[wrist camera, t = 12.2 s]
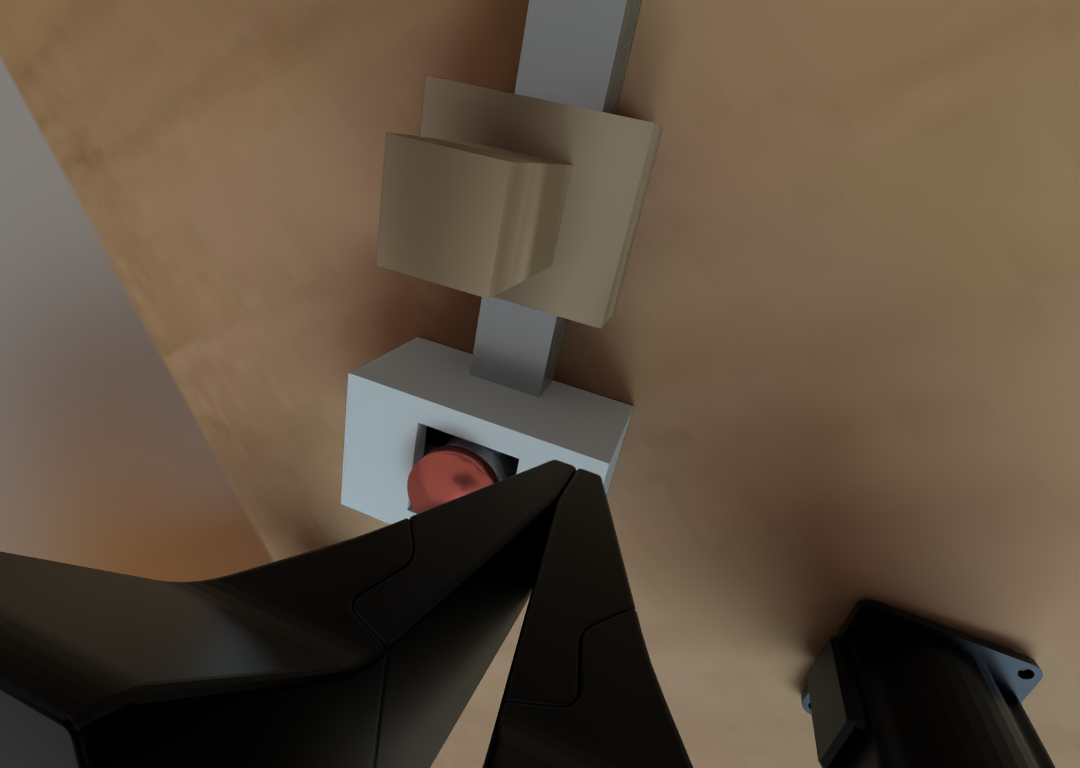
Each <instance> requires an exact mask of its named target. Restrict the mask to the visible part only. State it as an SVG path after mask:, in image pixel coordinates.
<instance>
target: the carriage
mask: <svg viewBox="0 0 1080 768" xmlns="http://www.w3.org/2000/svg"><path fill="white" fill-rule="evenodd" d="M662 130H663V128H662V127H661V126H659V125H657V124H656V123H653V122H648V121H644V120H639V119H634V118H629V117H624V116H620V115H615V114H610V113H605V112H600V111H595V110H591V109H586V108H581V107H576V106H571V105H567V104H562V103H557V102H552V101H547V100H542V99H538V98H533V97H528V96H523V95H518V94H514V93H509V92H504V91H499V90H494V89H489V88H485V87H480V86H475V85H470V84H465V83H461V82H456V81H451V80H446V79H441V78H436V77H432V76H427V75H426V79H425V89H424V100H423V110H422V120H421V130H420V136H411V135H403V134H394V133H386V141H385V154H384V168H383V181H382V195H381V208H380V221H379V235H378V248H377V262H376V266H379V267H382V268H386V269H389V270H392V271H396V272H399V273H403V274H406V275H409V276H413V277H416V278H419V279H423V280H426V281H430V282H433V283H436V284H440V285H443V286H446V287H450V288H453V289H457V290H460V291H463V292H467V293H470V294H473V295H477V296H480V297H483V298H487V299H489V298H491V297H495V298H498V299H501V300H505V301H508V302H511V303H515V304H518V305H522V306H525V307H528V308H532V309H535V310H539V311H542V312H545V313H549V314H552V315H555V316H559V317H562V318H566V319H569V320H572V321H576V322H579V323H583V324H586V325H589V326H593V327H596V328H600V329H601V328H602V327H603V326H604V325H605V324H606V323H607V321H608V320H609V319H610V318H611V317H612V315H613V314H614V310H615V306H616V303H617V299H618V295H619V291H620V288H621V284H622V280H623V276H624V273H625V269H626V265H627V261H628V258H629V254H630V250H631V246H632V243H633V239H634V235H635V231H636V228H637V224H638V220H639V216H640V213H641V209H642V205H643V201H644V198H645V194H646V190H647V186H648V183H649V179H650V175H651V171H652V168H653V164H654V160H655V156H656V153H657V149H658V145H659V141H660V138H661V134H662Z"/></svg>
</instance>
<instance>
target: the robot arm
mask: <svg viewBox="0 0 1080 768" xmlns="http://www.w3.org/2000/svg"><path fill="white" fill-rule="evenodd" d="M530 595H531V596H530ZM529 596H530V599H529V603H528V606H527V610H526V614H525V617H524V621H523V625H522V628H521V632H520V636H519V639H518V643H517V646H516V650H515V654H514V657H513V661H512V665H511V668H510V672H509V675H508V679H507V683H506V686H505V690H504V694H503V697H502V701H501V705H500V709H499V712H498V715H497V719H496V723H495V726H494V730H493V733H492V737H491V740H490V744H489V748H488V751H487V754H486V758H485V761H484V764H483V768H693V766H692V764H691V761H690V759H689V756H688V754H687V752H686V749H685V747H684V744H683V742H682V739H681V737H680V735H679V732H678V730H677V727H676V725H675V722H674V720H673V718H672V715H671V713H670V710H669V708H668V705H667V703H666V701H665V698H664V695H663V693H662V690H661V688H660V685H659V682H658V680H657V677H656V674H655V672H654V669H653V667H652V664H651V661H650V658H649V654H648V651H647V648H646V644H645V641H644V638H643V635H642V631H641V627H640V623H639V619H638V616H637V612H636V611H635V605H634V601H633V597H632V593H631V590H630V586H629V582H628V578H627V574H626V570H625V566H624V563H623V559H622V555H621V551H620V547H619V543H618V539H617V536H616V532H615V528H614V524H613V520H612V516H611V512H610V509H609V505H608V501H607V497H606V493H605V489H604V485H603V482H602V478H601V476H600V475H598V474H595V473H592V472H590V471H587V470H584V469H578V470H576V468H575V467H574V466H573V465H570V464H567V463H564V462H561V461H559V460H551V461H548V462H546V463H543V464H541V465H538V466H536V467H533V468H531V469H528V470H526V471H523V472H521V473H518V474H516V475H513V476H511V477H508V478H506V479H503V480H501V481H498V482H496V483H493V484H491V485H488V486H486V487H483V488H481V489H478V490H476V491H473V492H471V493H468V494H466V495H463V496H461V497H458V498H456V499H453V500H451V501H448V502H446V503H443V504H441V505H438V506H436V507H433V508H431V509H428V510H426V511H423V512H421V513H418V514H416V515H413V516H411V517H410V519H408V518H405V519H403V520H400V521H398V522H395V523H393V524H390V525H388V526H385V527H383V528H380V529H377V530H374V531H372V532H369V533H366V534H364V535H361V536H358V537H355V538H352V539H349V540H346V541H343V542H339V543H336V544H333V545H330V546H327V547H324V548H320V549H317V550H313V551H310V552H307V553H303V554H300V555H296V556H293V557H290V558H286V559H283V560H279V561H276V562H272V563H269V564H266V565H262V566H259V567H256V568H252V569H248V570H245V571H242V572H238V573H235V574H231V575H227V576H223V577H220V578H215V579H210V580H203V581H193V582H167V581H160V580H153V579H147V578H142V577H136V576H131V575H126V574H120V573H115V572H109V571H104V570H98V569H92V568H87V567H81V566H76V565H70V564H66V563H60V562H54V561H49V560H44V559H38V558H33V557H27V556H21V555H16V554H11V553H5V552H0V768H430V767H431V765H432V763H433V762H434V760H435V758H436V757H437V755H438V753H439V751H440V750H441V748H442V746H443V745H444V743H445V741H446V739H447V738H448V736H449V734H450V733H451V731H452V729H453V727H454V726H455V724H456V722H457V721H458V719H459V717H460V715H461V714H462V712H463V710H464V709H465V707H466V705H467V703H468V702H469V700H470V698H471V697H472V695H473V693H474V691H475V690H476V688H477V686H478V685H479V683H480V681H481V679H482V678H483V676H484V674H485V673H486V671H487V669H488V667H489V666H490V664H491V662H492V661H493V659H494V657H495V655H496V654H497V652H498V650H499V649H500V647H501V645H502V643H503V642H504V640H505V638H506V637H507V635H508V633H509V631H510V630H511V628H512V626H513V625H514V623H515V621H516V619H517V618H518V616H519V614H520V613H521V611H522V609H523V607H524V606H525V604H526V602H527V600H528V598H529ZM868 611H872V612H875V613H873V614H870V615H869V614H865V612H868ZM1021 669H1027V670H1024V671H1019V670H1021ZM1042 676H1043V674H1042V671H1041V669H1040V668H1039V666H1038V664H1037V663H1036V662H1035V660H1034V659H1032V658H1030V657H1028V656H1026V655H1023V654H1020V653H1017V652H1015V651H1012V650H1009V649H1006V648H1004V647H1001V646H998V645H995V644H993V643H990V642H987V641H984V640H982V639H979V638H976V637H973V636H971V635H968V634H965V633H962V632H960V631H957V630H954V629H951V628H949V627H946V626H943V625H941V624H938V623H935V622H932V621H930V620H927V619H924V618H921V617H919V616H916V615H913V614H910V613H908V612H905V611H902V610H899V609H897V608H894V607H891V606H888V605H886V604H883V603H880V602H877V601H875V600H870V599H863V600H861V601H858V602H857V603H856V604H855V606H854V608H853V609H852V611H851V613H850V614H849V616H848V618H847V619H846V621H845V623H844V624H843V626H842V628H841V629H840V631H839V633H838V634H837V636H834V637H832V638H830V639H829V640H828V642H827V643H826V645H825V647H824V648H823V650H822V652H821V653H820V655H819V657H818V658H817V660H816V662H815V663H814V665H813V667H812V669H811V670H810V672H809V674H808V675H807V686H806V688H805V690H804V691H803V693H802V695H801V700H802V706H803V709H804V710H805V711H806V712H808V713H810V714H812V720H813V727H814V734H815V740H816V747H817V754H818V761H819V763H820V765H821V767H822V768H1055V766H1054V764H1053V762H1052V760H1051V759H1050V757H1049V755H1048V753H1047V751H1046V749H1045V747H1044V746H1043V744H1042V742H1041V740H1040V738H1039V736H1038V735H1037V733H1036V731H1035V729H1034V727H1033V725H1032V723H1031V722H1030V720H1029V718H1028V716H1027V714H1026V712H1025V711H1024V709H1023V707H1022V705H1021V702H1022V701H1023V700H1024V699H1025V698H1026V696H1027V695H1028V694H1029V693H1030V692H1031V691H1032V689H1033V688H1034V687H1035V686H1036V685H1037V684H1038V682H1039V681H1040V680H1041V678H1042Z"/></svg>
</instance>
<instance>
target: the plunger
mask: <svg viewBox="0 0 1080 768" xmlns="http://www.w3.org/2000/svg"><path fill="white" fill-rule="evenodd" d="M518 464H519V459H518V458H515V457H513V456H510V455H507V454H504V453H501V452H499V451H496V450H493V449H490V448H488V447H485V446H482V445H479V444H476V443H474V442H471V441H468V440H465V439H463V438H460V437H457V436H453V437H452V438H451V439H450V440H449V441H448V442H447V443H446V444H445V445H444V446H441V447H437V448H435V449H433V450H431V451H430V452H429V453H428V454H426V455H425V456H424V457H423V458H422V459H421V460H420V461H419V462H418V463H417V464H416V465H415V466H414V467H413V468H412V470H411V472H410V474H409V477H408V481H407V492H408V497H409V500H410V503H411V505H412V507H413V509H414V511H415V512H416V514H418V513H421V512H423V511H426V510H428V509H431V508H433V507H436V506H438V505H441V504H443V503H446V502H448V501H451V500H453V499H456V498H458V497H461V496H463V495H466V494H468V493H471V492H473V491H476V490H478V489H481V488H483V487H486V486H488V485H491V484H493V483H496V482H498V481H501V480H503V479H506V478H508V477H511V476H513V475H516V473H517V468H518Z"/></svg>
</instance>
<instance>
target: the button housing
mask: <svg viewBox="0 0 1080 768" xmlns="http://www.w3.org/2000/svg"><path fill="white" fill-rule="evenodd" d="M472 356H473V354H470V353H467V352H464V351H461V350H458V349H454V348H451V347H448V346H445V345H442V344H439V343H436V342H433V341H430V340H426V339H423V338H420V337H417V338H415V339H413V340H411V341H409V342H407V343H405V344H403V345H401V346H399V347H397V348H395V349H394V350H392V351H390V352H388V353H386V354H384V355H382V356H380V357H378V358H376V359H374V360H372V361H370V362H369V363H367V364H365V365H363V366H361V367H359V368H357V369H355V370H353V371H351V372H349V373H348V389H347V407H346V424H345V441H344V458H343V476H342V493H341V504H342V505H345V506H347V507H350V508H352V509H355V510H357V511H360V512H362V513H364V514H367V515H369V516H372V517H374V518H377V519H379V520H382V521H384V522H386V523H389V524H393V523H395V522H398V521H400V520H403V519H405V518H408V519H410V517H411V516H413V515H416V512H415V511H414V509H413V507H412V505H411V503H410V500H409V497H408V492H407V481H408V477H409V474H410V472H411V470H412V468H413V467H414V466H415V465H416V464H417V463H418V462H419V461H420V460H421V459H422V458H423V457H424V456H425V455H426V454H428V453H429V452H430V451H431V450H433V449H435V448H437V447H436V446H434V445H431V444H428V443H425V439H426V431H427V426H429V427H432V428H435V429H438V430H440V431H443V432H446V433H449V434H451V435H454V436H457V437H460V438H463V439H465V440H468V441H471V442H474V443H476V444H479V445H482V446H485V447H488V448H490V449H493V450H496V451H499V452H501V453H504V454H507V455H510V456H513V457H515V458H518V459H519V464H518V468H517V473H516V474H518V473H521V472H523V471H526V470H528V469H531V468H533V467H536V466H538V465H541V464H543V463H546V462H548V461H551V460H559V461H561V462H564V463H567V464H570V465H573V466H574V467H575V468H576V470H578V469H584V470H587V471H590V472H592V473H595V474H598V475H600V476H601V478H602V482H603V485H604V489H605V493H606V496H607V492H608V489H609V486H610V483H611V479H612V476H613V473H614V470H615V466H616V463H617V460H618V456H619V453H620V450H621V447H622V443H623V440H624V437H625V434H626V430H627V427H628V424H629V420H630V417H631V414H632V411H633V407H634V406H631V405H628V404H625V403H622V402H619V401H616V400H613V399H610V398H606V397H603V396H600V395H597V394H594V393H591V392H588V391H585V390H582V389H579V388H575V387H572V386H569V385H566V384H563V383H560V382H557V381H553V382H552V383H551V384H550V386H549V387H548V388H547V389H546V390H545V391H544V392H543V394H542V395H541V396H540V397H539V398H538V397H535V396H532V395H529V394H526V393H523V392H520V391H517V390H514V389H511V388H508V387H505V386H502V385H499V384H496V383H493V382H490V381H487V380H484V379H481V378H478V377H475V376H472V375H470V369H471V362H472Z"/></svg>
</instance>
